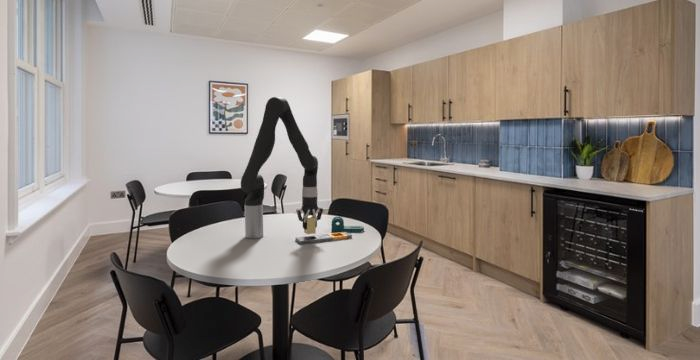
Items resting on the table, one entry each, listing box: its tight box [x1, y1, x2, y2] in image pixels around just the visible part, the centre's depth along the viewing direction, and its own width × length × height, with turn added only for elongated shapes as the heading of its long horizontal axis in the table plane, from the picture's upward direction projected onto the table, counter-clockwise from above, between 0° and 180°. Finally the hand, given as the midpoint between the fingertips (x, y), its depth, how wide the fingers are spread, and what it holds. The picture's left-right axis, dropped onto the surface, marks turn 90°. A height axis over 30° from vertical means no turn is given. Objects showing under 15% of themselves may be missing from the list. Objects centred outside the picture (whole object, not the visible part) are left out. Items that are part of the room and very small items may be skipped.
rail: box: [294, 232, 353, 245], centre depth 202 cm, size 8×28×2 cm, turn 116°
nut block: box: [303, 215, 317, 235], centre depth 198 cm, size 4×4×8 cm
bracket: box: [331, 215, 365, 233], centre depth 220 cm, size 18×7×8 cm, turn 91°
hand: (309, 228), depth 199 cm, fingers closed on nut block, 4 cm apart
